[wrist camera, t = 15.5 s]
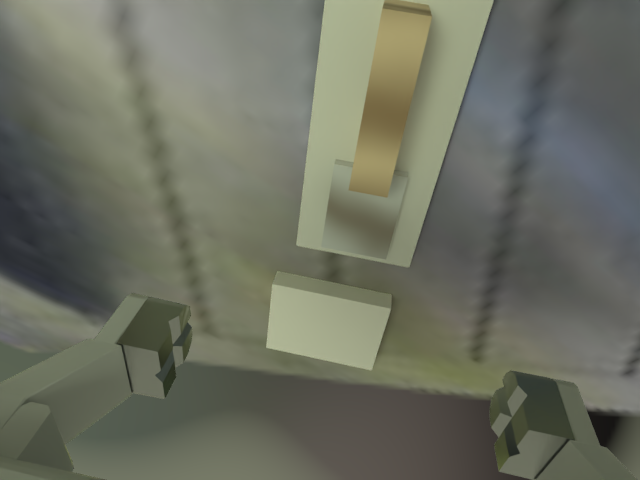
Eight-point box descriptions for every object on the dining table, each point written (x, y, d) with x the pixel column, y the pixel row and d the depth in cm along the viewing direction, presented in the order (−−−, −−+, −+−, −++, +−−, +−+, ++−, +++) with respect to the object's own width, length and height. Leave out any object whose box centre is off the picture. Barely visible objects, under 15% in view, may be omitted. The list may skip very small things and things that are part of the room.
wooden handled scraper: (361, -6, 24) (355, 3, 21) (452, 8, 24) (459, 21, 21) (322, 240, 34) (314, 273, 31) (386, 253, 34) (384, 287, 31)
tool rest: (334, -57, 24) (331, -57, 23) (499, -31, 24) (503, -30, 23) (298, 238, 36) (296, 245, 35) (408, 259, 35) (409, 267, 35)
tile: (272, 284, 37) (266, 347, 41) (391, 308, 36) (371, 370, 41) (278, 268, 39) (271, 330, 43) (391, 291, 38) (372, 352, 43)
